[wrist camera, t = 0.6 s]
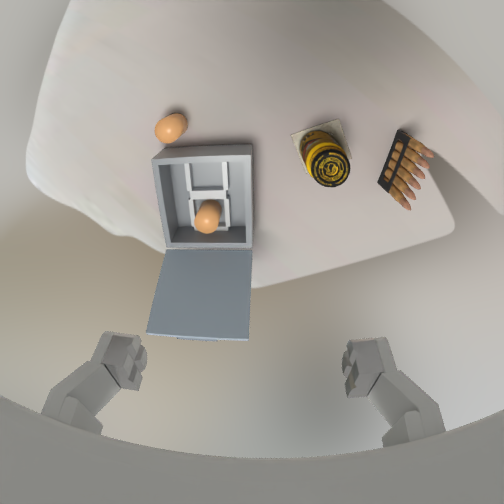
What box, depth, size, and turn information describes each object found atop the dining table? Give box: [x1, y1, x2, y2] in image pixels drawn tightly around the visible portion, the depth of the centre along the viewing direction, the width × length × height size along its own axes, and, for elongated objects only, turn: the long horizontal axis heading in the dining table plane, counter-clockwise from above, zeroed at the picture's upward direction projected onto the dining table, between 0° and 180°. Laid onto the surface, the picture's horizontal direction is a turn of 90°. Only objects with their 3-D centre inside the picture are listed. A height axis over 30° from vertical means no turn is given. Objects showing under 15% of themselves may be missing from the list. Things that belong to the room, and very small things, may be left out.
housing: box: [152, 144, 254, 248], centre depth 48 cm, size 16×15×6 cm
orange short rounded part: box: [194, 199, 222, 234], centre depth 50 cm, size 4×4×5 cm
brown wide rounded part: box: [155, 113, 188, 143], centre depth 42 cm, size 4×4×5 cm
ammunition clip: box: [378, 130, 434, 210], centre depth 41 cm, size 11×2×12 cm, turn 167°
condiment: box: [291, 119, 352, 187], centre depth 41 cm, size 7×8×12 cm
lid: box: [146, 249, 252, 341], centre depth 45 cm, size 16×15×2 cm
